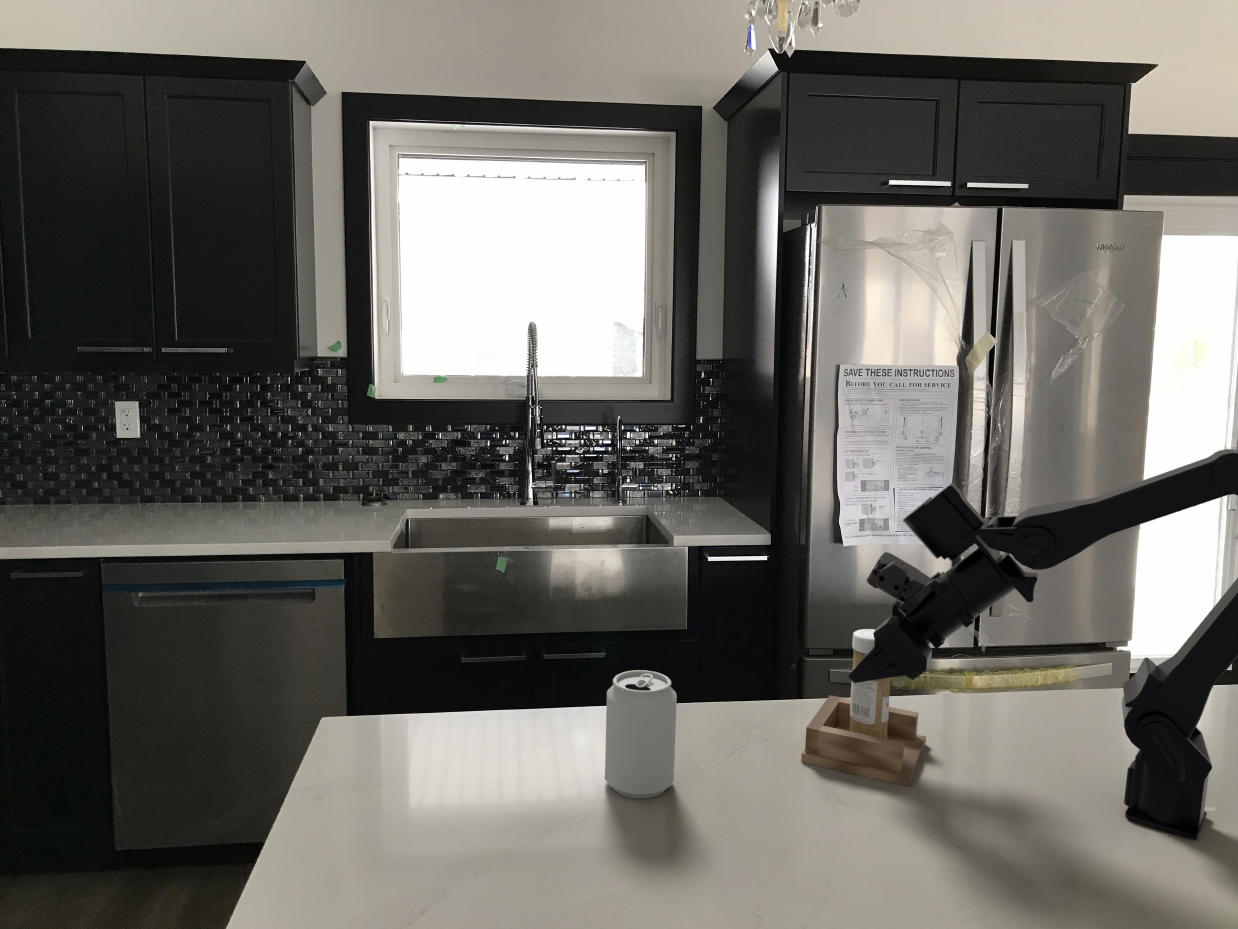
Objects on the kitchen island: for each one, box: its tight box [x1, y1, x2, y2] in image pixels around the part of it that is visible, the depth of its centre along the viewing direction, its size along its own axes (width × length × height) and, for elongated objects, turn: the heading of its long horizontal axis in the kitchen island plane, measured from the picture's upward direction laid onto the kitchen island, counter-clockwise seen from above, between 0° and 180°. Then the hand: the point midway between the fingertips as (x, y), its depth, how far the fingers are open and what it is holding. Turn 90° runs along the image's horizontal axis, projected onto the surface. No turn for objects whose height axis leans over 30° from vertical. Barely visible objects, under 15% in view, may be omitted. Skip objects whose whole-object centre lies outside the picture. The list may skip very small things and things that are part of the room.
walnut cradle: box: [800, 694, 927, 787], centre depth 110 cm, size 12×12×4 cm
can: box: [604, 669, 678, 799], centre depth 100 cm, size 8×8×12 cm
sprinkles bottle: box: [850, 628, 891, 739], centre depth 109 cm, size 5×5×14 cm
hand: (858, 669), depth 110 cm, fingers open, 7 cm apart
